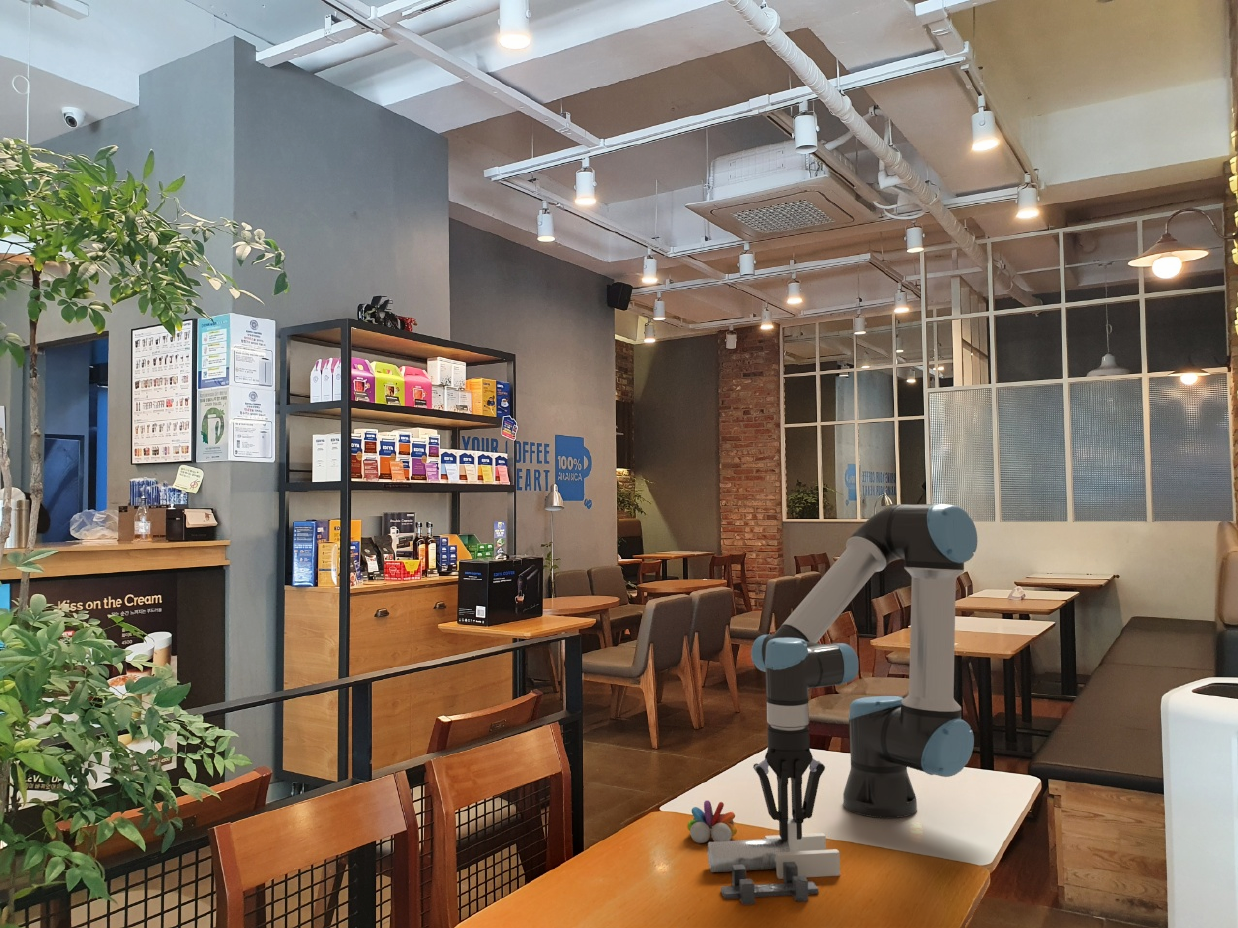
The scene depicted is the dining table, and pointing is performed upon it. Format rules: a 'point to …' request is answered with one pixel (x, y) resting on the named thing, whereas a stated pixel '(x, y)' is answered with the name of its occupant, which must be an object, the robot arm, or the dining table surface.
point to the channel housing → (810, 857)
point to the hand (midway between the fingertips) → (791, 857)
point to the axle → (745, 854)
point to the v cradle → (768, 885)
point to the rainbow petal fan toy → (711, 824)
